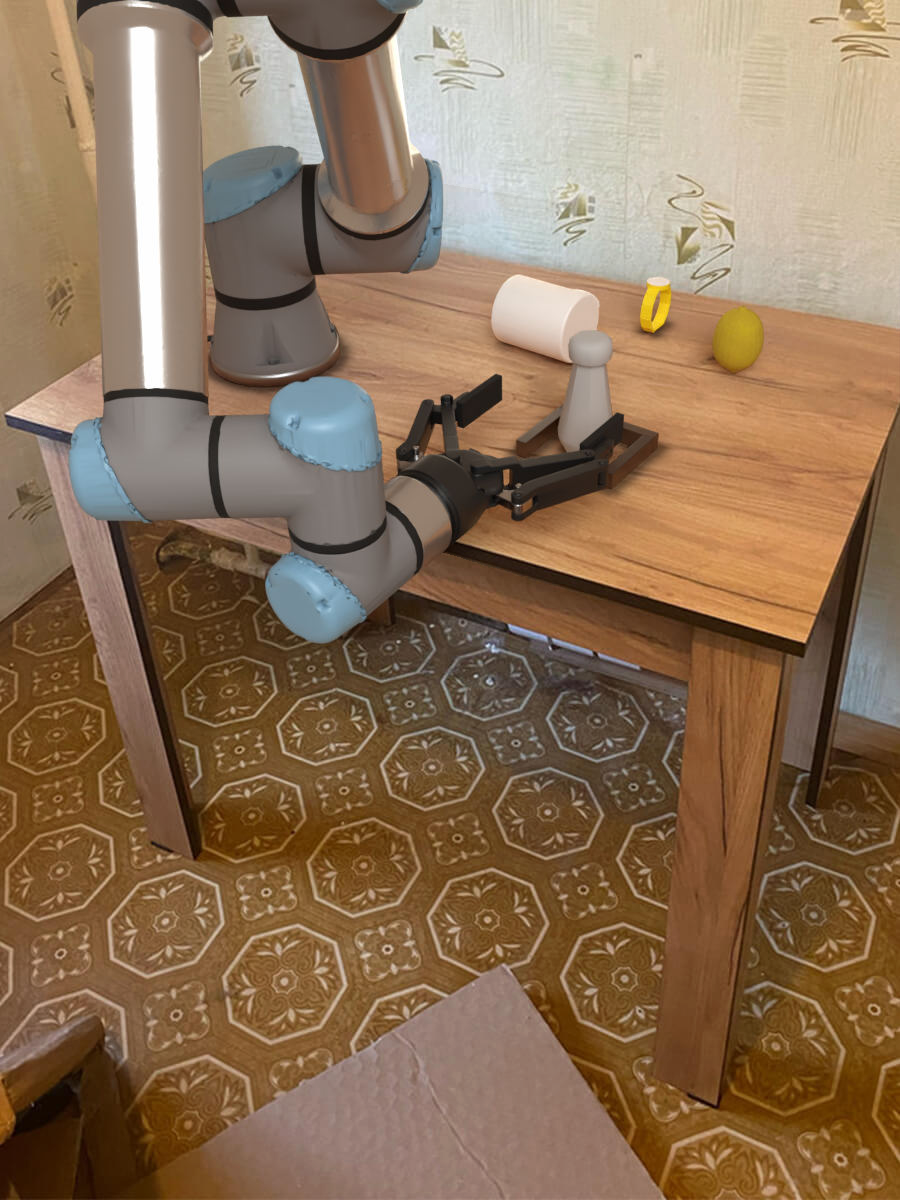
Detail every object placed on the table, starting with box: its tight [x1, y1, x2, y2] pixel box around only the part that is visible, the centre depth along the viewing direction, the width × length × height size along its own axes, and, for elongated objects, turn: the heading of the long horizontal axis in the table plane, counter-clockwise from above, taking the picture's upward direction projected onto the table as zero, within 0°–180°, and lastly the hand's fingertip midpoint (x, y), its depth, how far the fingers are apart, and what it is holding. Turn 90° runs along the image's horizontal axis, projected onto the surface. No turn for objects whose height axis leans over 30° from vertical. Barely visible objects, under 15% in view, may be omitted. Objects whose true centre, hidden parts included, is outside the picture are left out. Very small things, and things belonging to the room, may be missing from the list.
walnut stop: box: [515, 402, 660, 490], centre depth 113 cm, size 11×9×2 cm
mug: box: [490, 274, 601, 364], centre depth 130 cm, size 12×10×8 cm
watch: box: [639, 276, 673, 334], centre depth 133 cm, size 6×3×6 cm, turn 147°
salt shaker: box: [557, 329, 614, 453], centre depth 110 cm, size 6×6×13 cm
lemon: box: [711, 305, 765, 374], centre depth 123 cm, size 6×6×8 cm
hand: (557, 405), depth 105 cm, fingers open, 13 cm apart
